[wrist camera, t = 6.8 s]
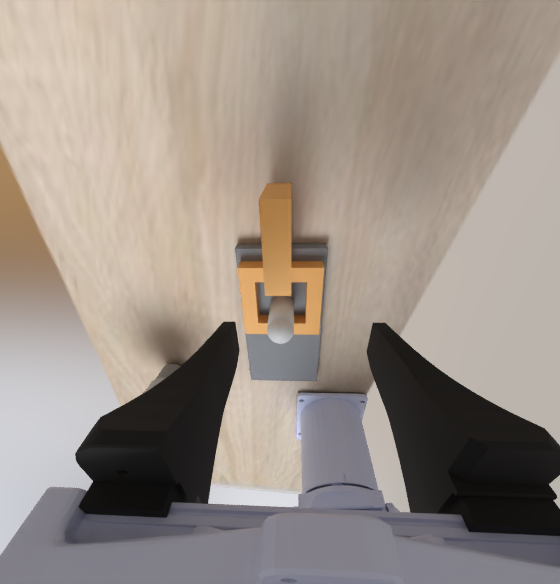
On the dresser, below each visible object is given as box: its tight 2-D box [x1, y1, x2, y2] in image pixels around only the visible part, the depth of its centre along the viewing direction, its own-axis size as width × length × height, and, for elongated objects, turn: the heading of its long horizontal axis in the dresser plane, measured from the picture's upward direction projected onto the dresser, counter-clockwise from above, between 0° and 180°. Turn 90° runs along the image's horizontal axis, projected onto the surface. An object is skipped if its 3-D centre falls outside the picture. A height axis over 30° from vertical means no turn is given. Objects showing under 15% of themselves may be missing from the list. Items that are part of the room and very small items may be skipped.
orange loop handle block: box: [237, 183, 324, 335], centre depth 17 cm, size 12×6×5 cm, turn 1°
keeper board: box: [235, 244, 328, 381], centre depth 21 cm, size 15×7×6 cm, turn 1°
